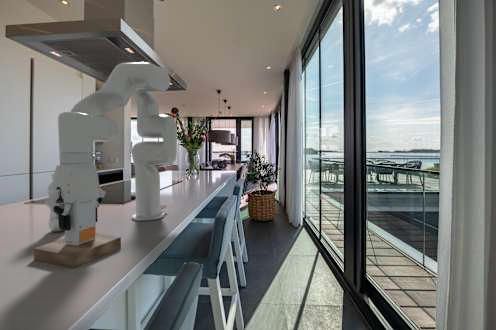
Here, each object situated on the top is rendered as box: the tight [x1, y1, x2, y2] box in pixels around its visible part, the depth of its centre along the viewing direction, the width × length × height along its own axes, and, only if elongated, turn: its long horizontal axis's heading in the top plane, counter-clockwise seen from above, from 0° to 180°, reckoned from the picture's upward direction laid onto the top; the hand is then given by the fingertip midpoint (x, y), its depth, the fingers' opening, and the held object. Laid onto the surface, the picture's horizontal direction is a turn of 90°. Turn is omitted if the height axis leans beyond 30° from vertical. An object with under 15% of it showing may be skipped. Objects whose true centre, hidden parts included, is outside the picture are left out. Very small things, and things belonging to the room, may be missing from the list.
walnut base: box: [33, 233, 122, 269], centre depth 69 cm, size 14×14×3 cm
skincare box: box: [64, 198, 97, 246], centre depth 69 cm, size 6×4×12 cm
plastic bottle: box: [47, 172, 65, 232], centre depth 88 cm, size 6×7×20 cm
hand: (79, 225), depth 69 cm, fingers open, 7 cm apart
